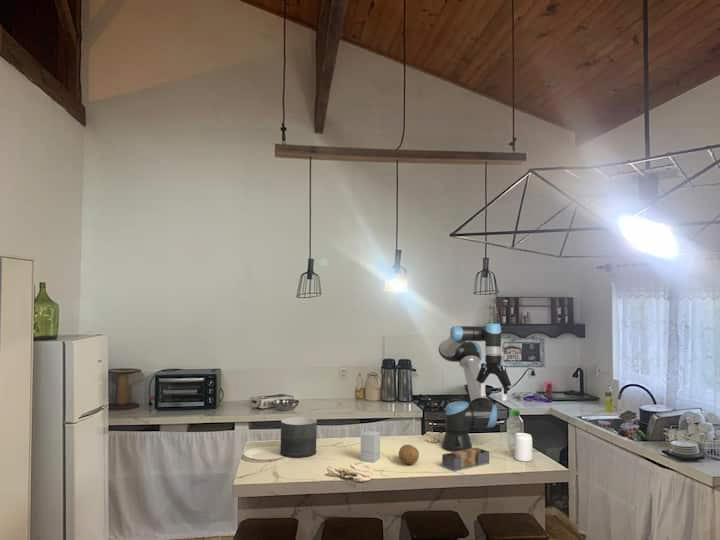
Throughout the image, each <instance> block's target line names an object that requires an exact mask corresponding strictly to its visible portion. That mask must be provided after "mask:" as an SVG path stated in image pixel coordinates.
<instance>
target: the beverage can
mask: <svg viewBox="0 0 720 540" xmlns="http://www.w3.org/2000/svg"><path fill="white" fill-rule="evenodd" d="M514 459H515V460H517V461H519V462H521V461H523V462H522V463H529V462H531V461H533V437H532V434H530V433H526V432H517V433H515V435H514Z"/></svg>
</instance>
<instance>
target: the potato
mask: <svg viewBox="0 0 720 540" xmlns="http://www.w3.org/2000/svg"><path fill="white" fill-rule="evenodd" d="M419 453H420V452H419V450H418V449H417V447H415V446H413V445H411V444H405V445H402V446H401V447H400V449H399V451H398V458H399V460H400V461H401V462H402V463H405V464H406V465H413V464H415V463H416V462H418V459H419V457H420V454H419Z"/></svg>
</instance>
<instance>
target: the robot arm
mask: <svg viewBox="0 0 720 540" xmlns="http://www.w3.org/2000/svg"><path fill="white" fill-rule="evenodd" d="M477 342H484V344H485V345H484V346H485V351H484V353H485V355H484V356H485V357H484V358H485V359H484V363H481V360H482V357H483V355H482V349H481V346H480V344H479V343H477ZM438 353H439V356H441V358H442V359H444V360H445V361H448V362H451V363H453V362H454V363H455V362H456V363H459V366H460V367H461V368H462V369H463V372H464V377H465V381H466V385H467V389H468V394H469V399H470V402H469V401H464V400H463V401H461V400H460V401H453V402H449V403H447V404H446V406H445V433H444V437H443V441H442V443H441V444H442V445H441V447H442V449H444V450H445V451H449V452H456V451H461V450H466V449H471V448H473V445H472V442H471V439H470V435H469V429H470V428H471V429H472V428H473V429H476V428H477V429H478V428H479V429H481V428H484V429H489V428H494V427H495V426H496V425H497V424H496V423H497V421H498V408H497V405H496V404H494V403H493V404H492V401H491V400H490V398H488V397H487V394H486V380H487V378H488V377H489V376H490V375H492V374H493V375H495V376H496V377H497V379H498V380H499V382H500V384H501V401H502V402H505V401H507V394H508V390H509V389H508V388H509V387H510V386H512V383H511V381H510V380H511V379H510V378H509V374H508V372H507V368H506V365H501V362H502V356H501V354H502V327H501V324H500V323H496V322H495V323H493V322H492V323H491V322H489V323H485V325H482V326H478V325H477V326H476V325H475V326H473V325H471V326H467V325H462V326H461V325H455V326H451V328H450V333H449V337H447V339H445V340H443V341H441V343H440V344H439V346H438ZM480 363H481V364H480ZM479 364H480V366H479Z"/></svg>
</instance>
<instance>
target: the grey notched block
mask: <svg viewBox="0 0 720 540" xmlns="http://www.w3.org/2000/svg"><path fill="white" fill-rule="evenodd" d="M477 448H478V449H481V452H480V453H477V463H476V464H472V465H467V466H463V467H461V457H456V458H454V457H451V456H450V453H451V452H449V453H443V454H442V455H441V456H442V460H441V461H442V463H441V464H442V466H441V467H442V468H444V469H446V470H448V471H451V472H455V473H456V472H459V471H464V470H467V469H472V468H476V467H481V466H485V465H489V464H490V450H489V451H488V450H485V449H483V448H479V447H477ZM463 469H464V470H463Z"/></svg>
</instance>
